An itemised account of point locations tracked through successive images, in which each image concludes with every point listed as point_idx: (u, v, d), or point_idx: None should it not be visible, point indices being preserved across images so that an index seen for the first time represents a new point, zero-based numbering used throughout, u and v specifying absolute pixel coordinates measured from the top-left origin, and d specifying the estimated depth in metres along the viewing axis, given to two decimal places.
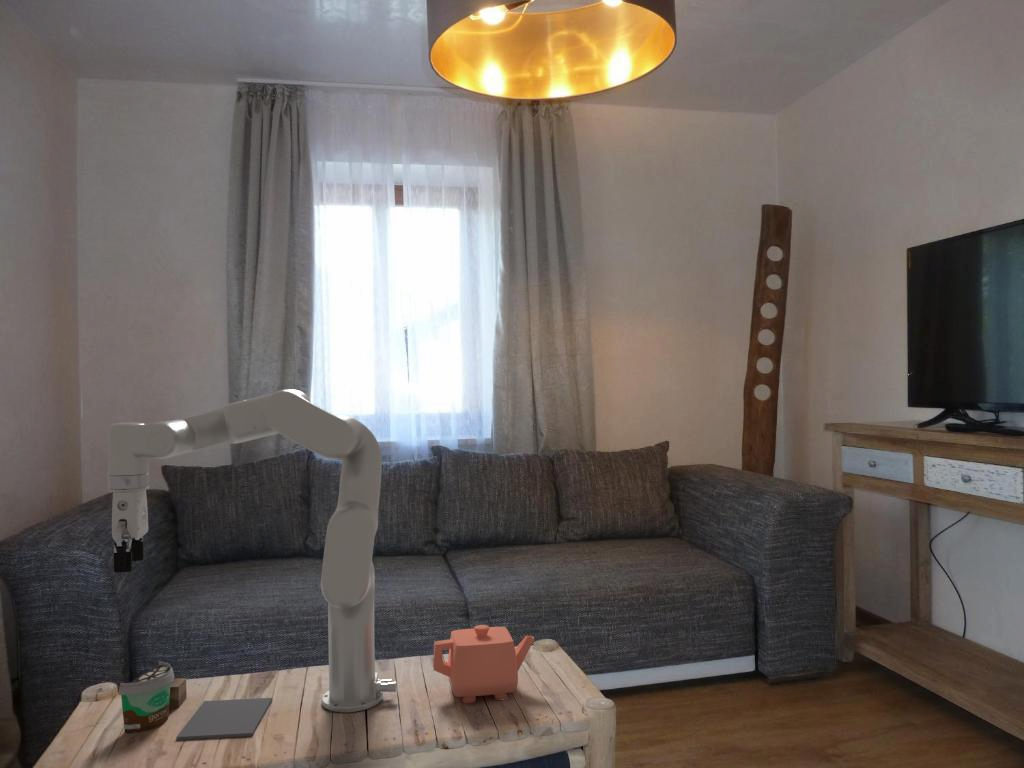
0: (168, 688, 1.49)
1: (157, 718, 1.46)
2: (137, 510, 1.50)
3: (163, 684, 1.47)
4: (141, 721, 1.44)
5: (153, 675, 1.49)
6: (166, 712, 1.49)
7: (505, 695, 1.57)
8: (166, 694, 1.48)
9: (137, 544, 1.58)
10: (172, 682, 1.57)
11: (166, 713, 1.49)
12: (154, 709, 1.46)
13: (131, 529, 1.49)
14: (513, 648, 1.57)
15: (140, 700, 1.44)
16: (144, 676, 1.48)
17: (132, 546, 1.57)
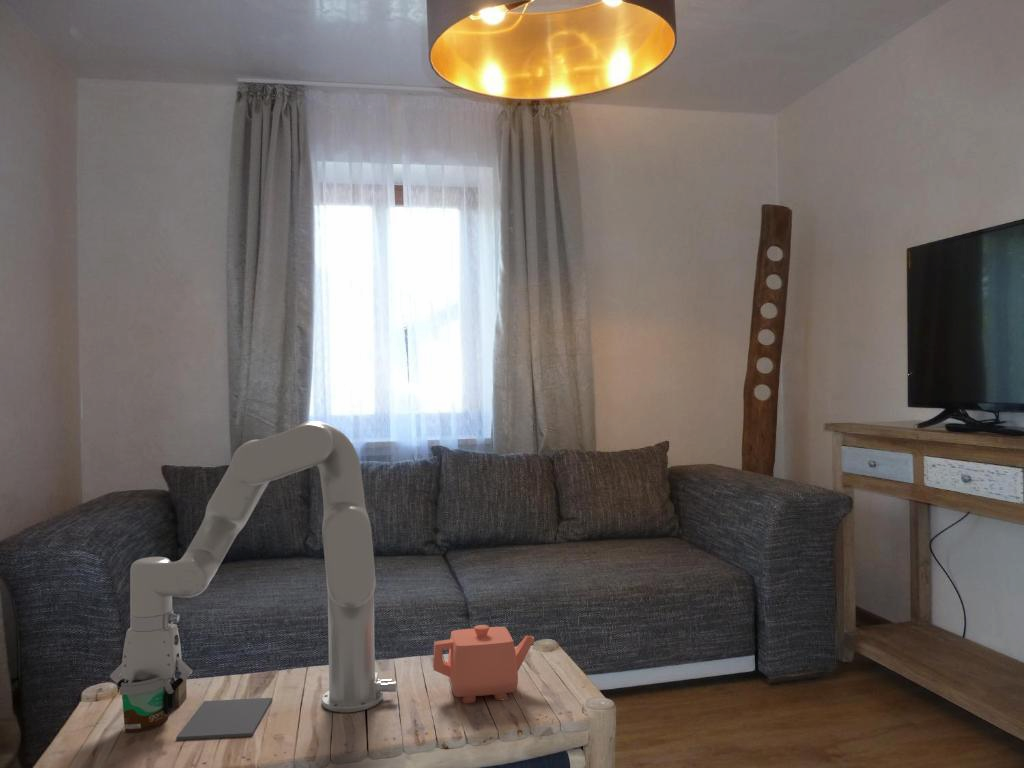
0: None
1: (158, 718, 1.46)
2: None
3: (164, 684, 1.47)
4: (141, 720, 1.44)
5: None
6: None
7: (505, 695, 1.57)
8: None
9: None
10: None
11: None
12: (155, 708, 1.46)
13: None
14: (513, 648, 1.57)
15: (141, 699, 1.44)
16: None
17: None
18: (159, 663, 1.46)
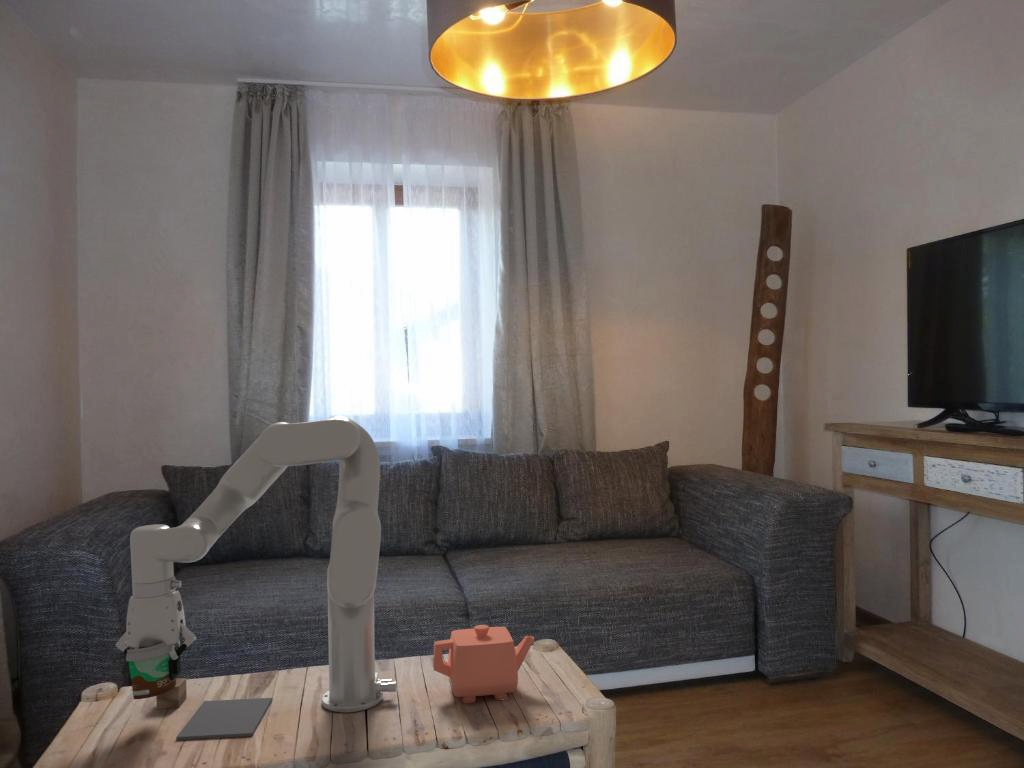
0: None
1: (165, 683, 1.47)
2: None
3: (170, 649, 1.47)
4: (149, 686, 1.45)
5: None
6: None
7: (505, 695, 1.57)
8: None
9: None
10: None
11: (174, 679, 1.49)
12: (162, 674, 1.46)
13: None
14: (513, 648, 1.57)
15: (148, 665, 1.44)
16: None
17: None
18: (163, 629, 1.46)
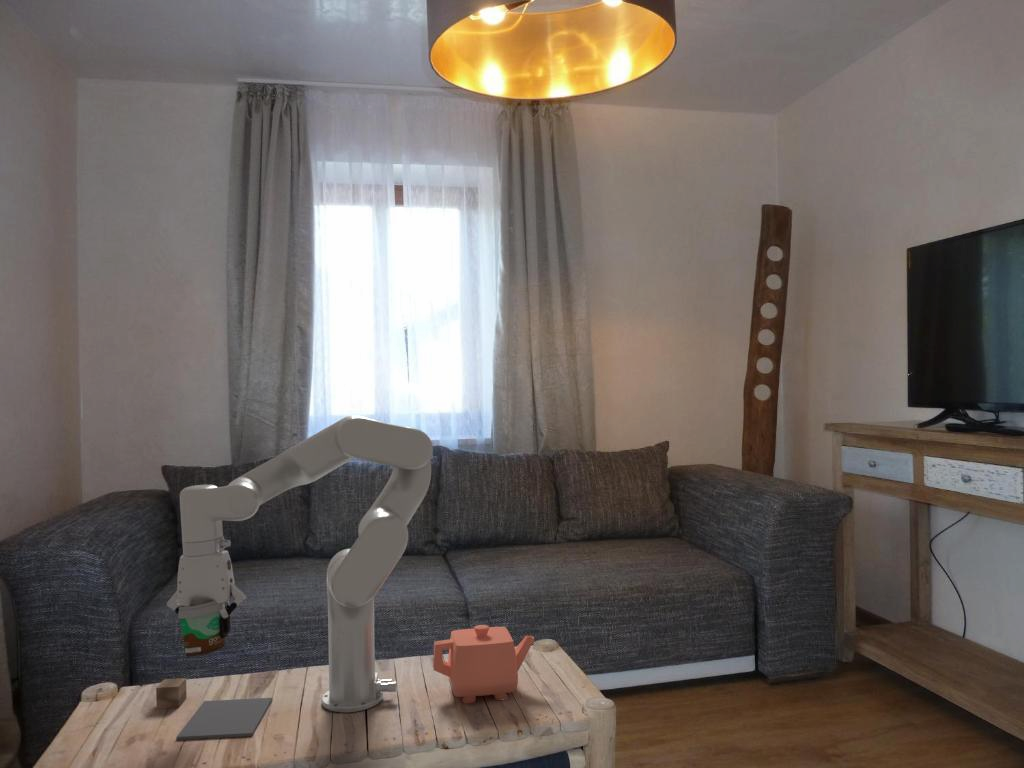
0: None
1: (216, 641, 1.48)
2: None
3: (220, 607, 1.48)
4: (201, 644, 1.46)
5: None
6: None
7: (505, 695, 1.57)
8: None
9: None
10: (172, 682, 1.57)
11: None
12: (213, 632, 1.47)
13: None
14: (513, 648, 1.57)
15: (199, 623, 1.45)
16: None
17: None
18: (214, 587, 1.47)
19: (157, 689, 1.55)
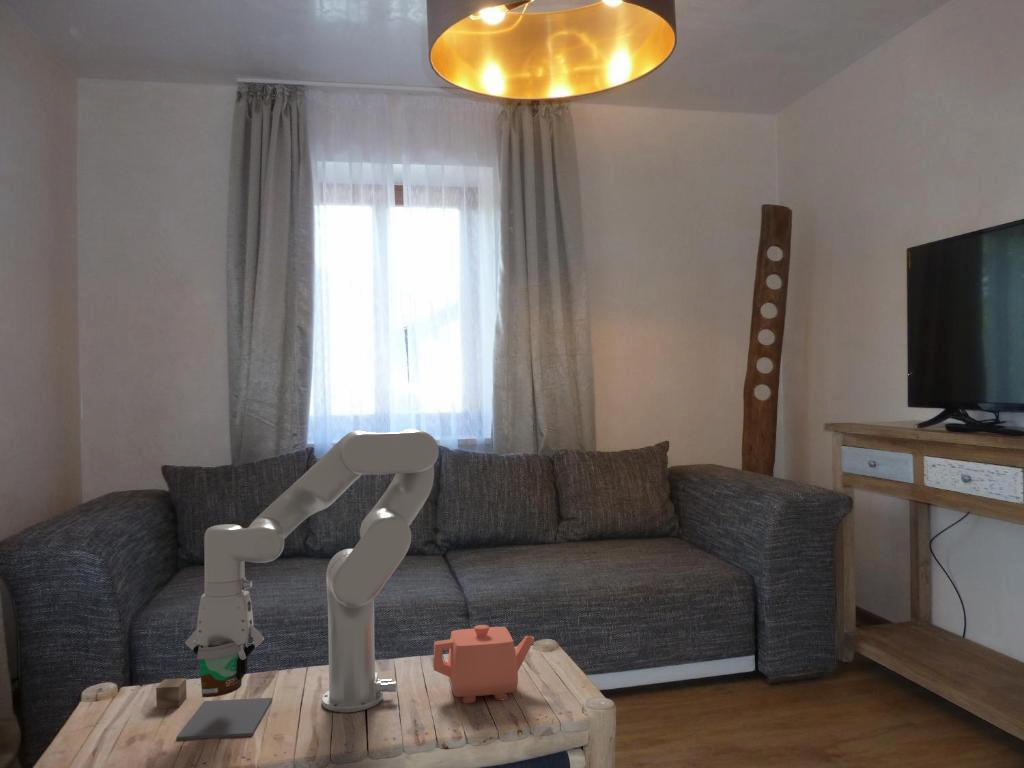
0: None
1: (233, 683, 1.48)
2: None
3: (239, 649, 1.48)
4: (218, 685, 1.46)
5: None
6: None
7: (505, 695, 1.57)
8: None
9: None
10: (172, 682, 1.57)
11: None
12: (231, 673, 1.47)
13: None
14: (513, 648, 1.57)
15: (218, 664, 1.45)
16: None
17: None
18: (233, 629, 1.47)
19: (157, 689, 1.55)
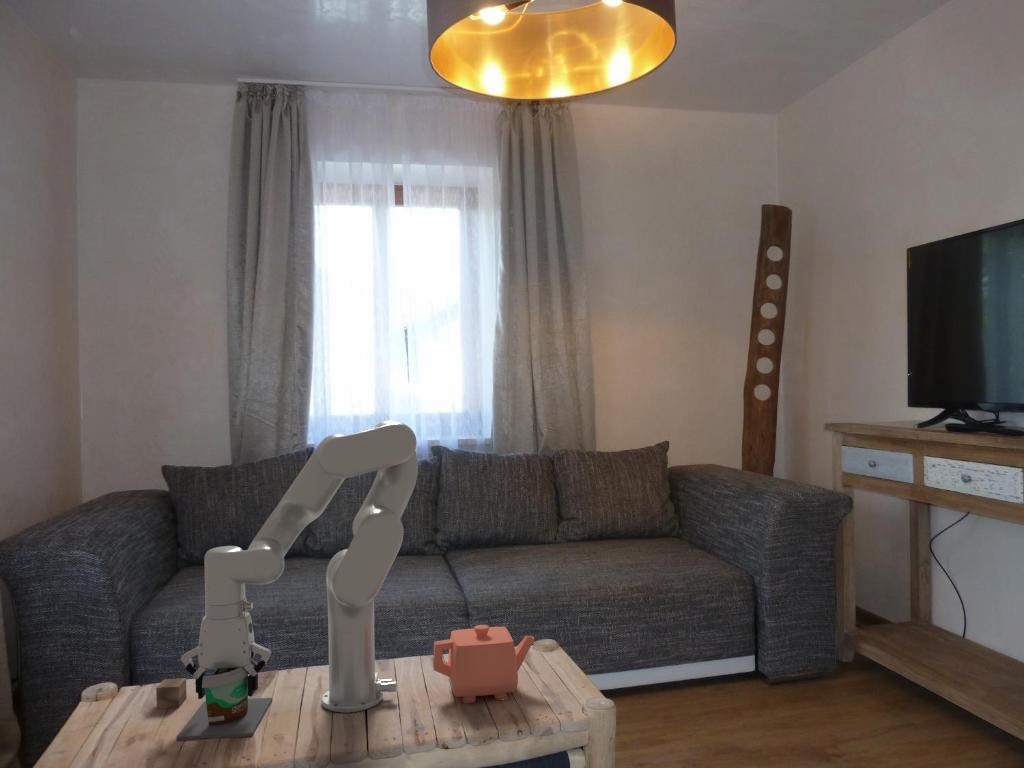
0: (247, 679, 1.51)
1: (239, 709, 1.48)
2: None
3: (244, 675, 1.48)
4: (224, 712, 1.46)
5: (231, 668, 1.50)
6: (246, 703, 1.50)
7: (505, 695, 1.57)
8: (245, 685, 1.50)
9: None
10: (172, 682, 1.57)
11: (246, 704, 1.50)
12: (236, 700, 1.47)
13: None
14: (513, 648, 1.57)
15: (223, 692, 1.45)
16: (223, 669, 1.49)
17: None
18: (235, 651, 1.47)
19: (157, 689, 1.55)
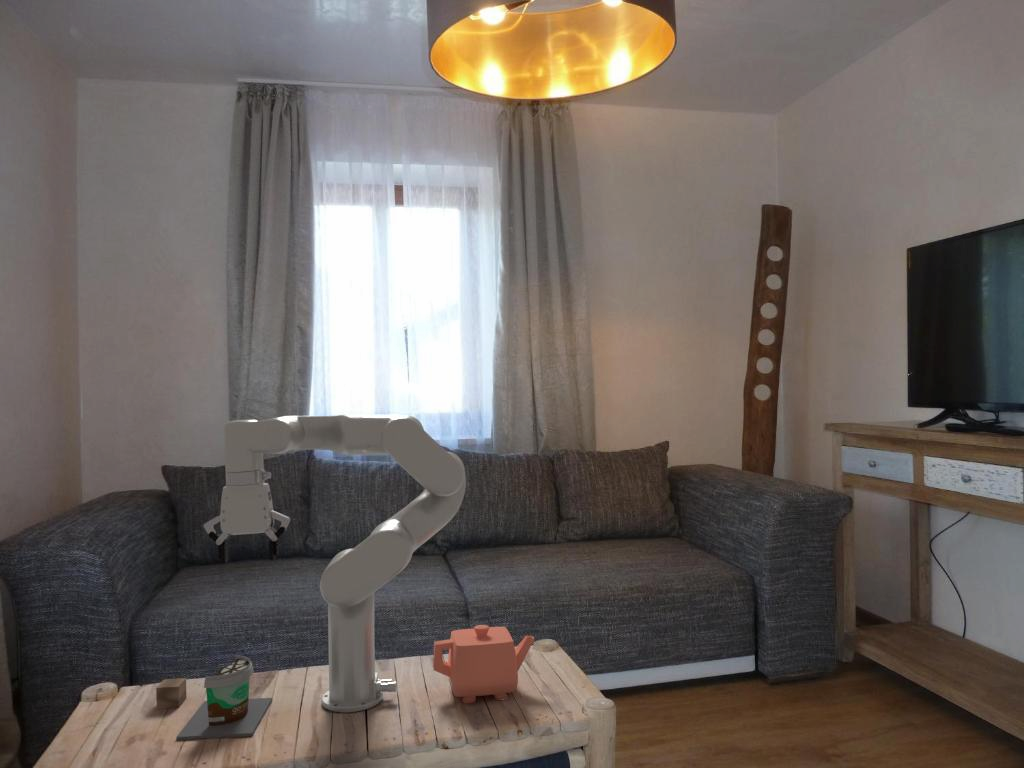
0: (249, 681, 1.51)
1: (240, 710, 1.48)
2: None
3: (246, 677, 1.48)
4: (225, 713, 1.46)
5: (233, 668, 1.50)
6: (247, 705, 1.50)
7: (505, 695, 1.57)
8: (247, 686, 1.50)
9: (227, 545, 1.56)
10: (172, 682, 1.57)
11: (247, 706, 1.50)
12: (237, 701, 1.47)
13: (273, 517, 1.58)
14: (513, 648, 1.57)
15: (224, 692, 1.45)
16: (225, 669, 1.49)
17: (225, 547, 1.55)
18: (256, 516, 1.54)
19: (157, 689, 1.55)
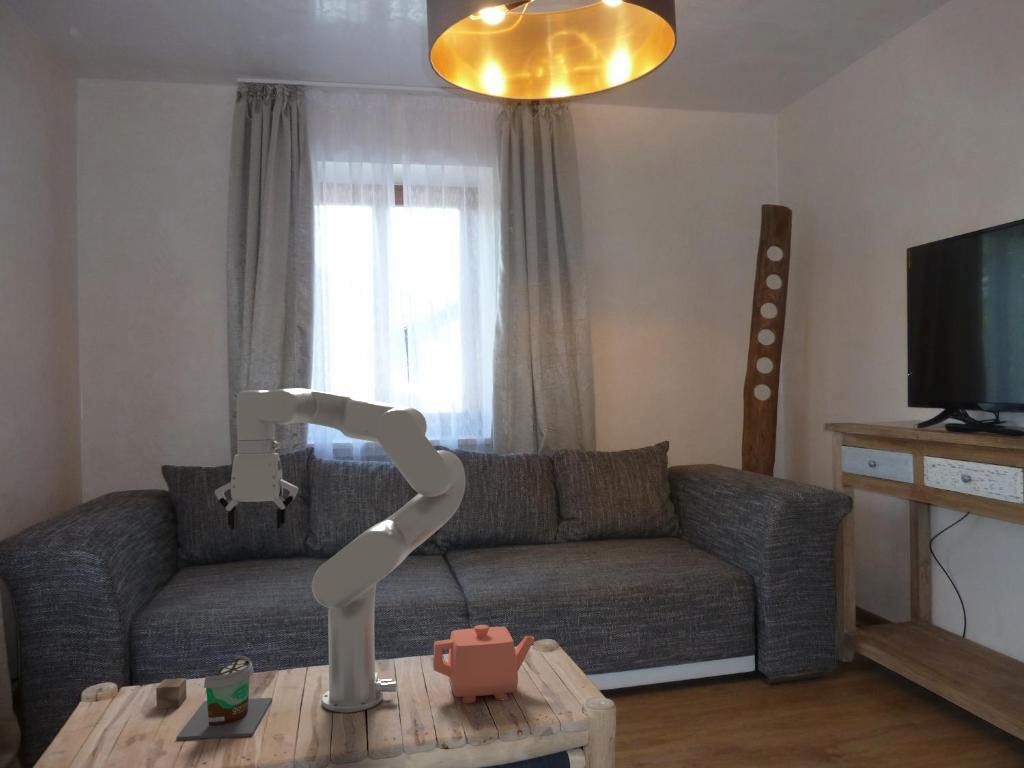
0: (249, 681, 1.51)
1: (240, 710, 1.48)
2: None
3: (246, 677, 1.48)
4: (225, 713, 1.46)
5: (233, 668, 1.50)
6: (247, 705, 1.50)
7: (505, 695, 1.57)
8: (247, 686, 1.50)
9: (236, 511, 1.60)
10: (172, 682, 1.57)
11: (247, 706, 1.50)
12: (237, 701, 1.47)
13: (282, 487, 1.62)
14: (513, 648, 1.57)
15: (224, 692, 1.45)
16: (225, 669, 1.49)
17: (235, 514, 1.59)
18: (265, 484, 1.58)
19: (157, 689, 1.55)
